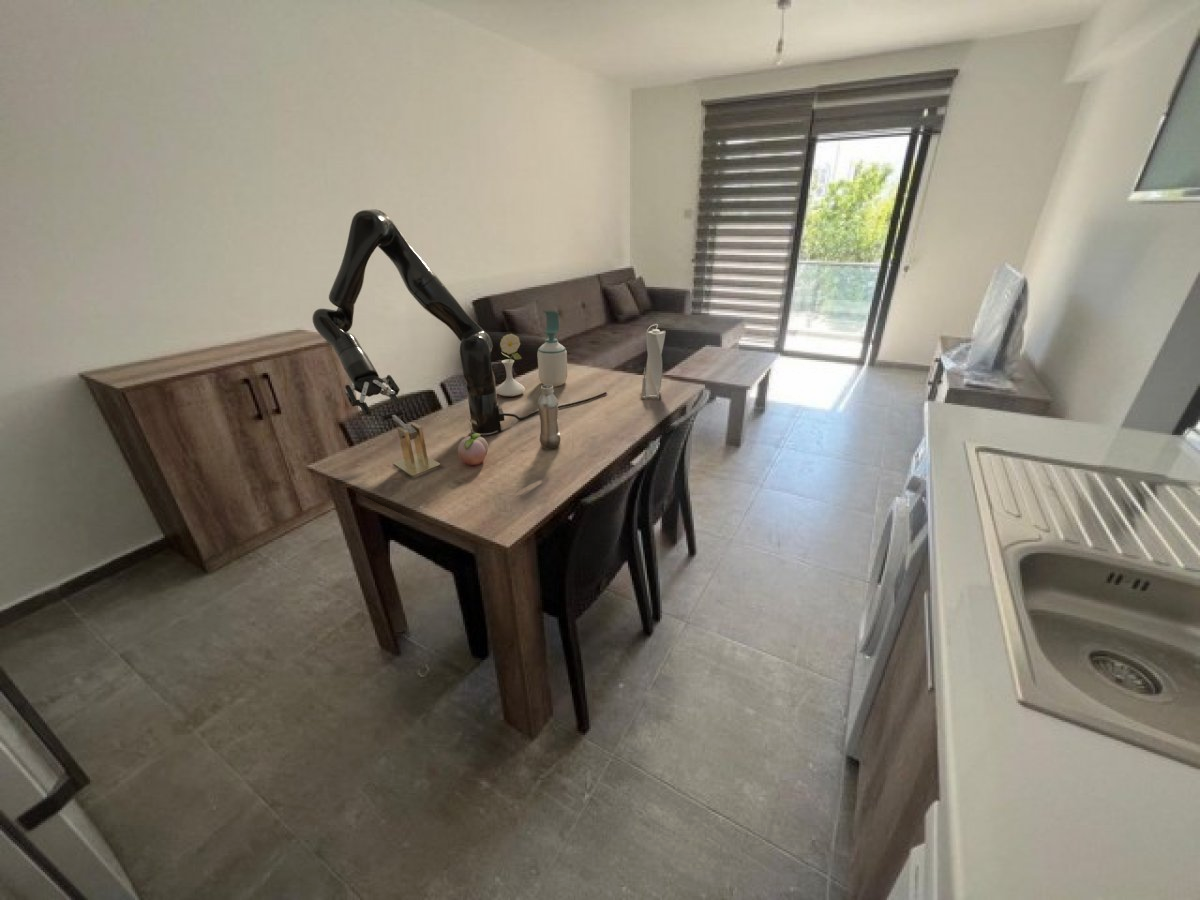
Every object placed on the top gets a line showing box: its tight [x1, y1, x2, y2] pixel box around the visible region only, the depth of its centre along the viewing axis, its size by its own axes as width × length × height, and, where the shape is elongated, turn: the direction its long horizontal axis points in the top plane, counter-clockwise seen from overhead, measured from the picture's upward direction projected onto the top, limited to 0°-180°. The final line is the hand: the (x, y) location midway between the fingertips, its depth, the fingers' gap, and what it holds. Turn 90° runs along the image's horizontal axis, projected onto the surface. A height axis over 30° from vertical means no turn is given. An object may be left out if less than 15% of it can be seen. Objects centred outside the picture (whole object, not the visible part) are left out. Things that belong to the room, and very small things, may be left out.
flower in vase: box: [496, 333, 526, 397], centre depth 189 cm, size 13×11×25 cm
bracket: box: [392, 422, 442, 477], centre depth 137 cm, size 11×9×13 cm
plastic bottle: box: [536, 384, 561, 450], centre depth 147 cm, size 6×7×20 cm
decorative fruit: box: [457, 433, 489, 466], centre depth 138 cm, size 9×8×10 cm
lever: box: [380, 409, 417, 441], centre depth 137 cm, size 12×6×2 cm, turn 48°
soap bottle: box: [536, 310, 568, 388], centre depth 200 cm, size 12×12×31 cm
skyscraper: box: [640, 323, 667, 401], centre depth 186 cm, size 8×8×28 cm
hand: (384, 410), depth 142 cm, fingers open, 8 cm apart
